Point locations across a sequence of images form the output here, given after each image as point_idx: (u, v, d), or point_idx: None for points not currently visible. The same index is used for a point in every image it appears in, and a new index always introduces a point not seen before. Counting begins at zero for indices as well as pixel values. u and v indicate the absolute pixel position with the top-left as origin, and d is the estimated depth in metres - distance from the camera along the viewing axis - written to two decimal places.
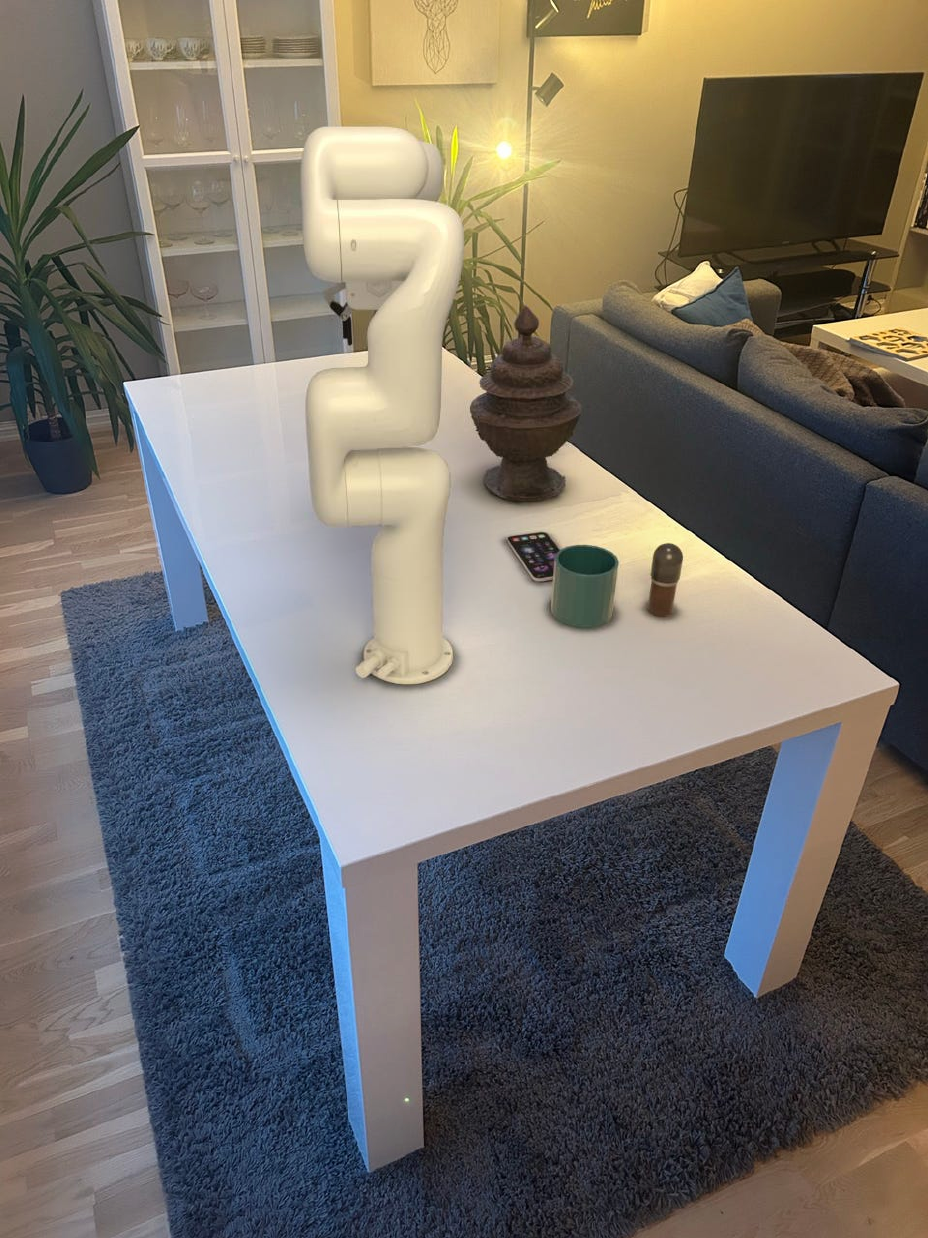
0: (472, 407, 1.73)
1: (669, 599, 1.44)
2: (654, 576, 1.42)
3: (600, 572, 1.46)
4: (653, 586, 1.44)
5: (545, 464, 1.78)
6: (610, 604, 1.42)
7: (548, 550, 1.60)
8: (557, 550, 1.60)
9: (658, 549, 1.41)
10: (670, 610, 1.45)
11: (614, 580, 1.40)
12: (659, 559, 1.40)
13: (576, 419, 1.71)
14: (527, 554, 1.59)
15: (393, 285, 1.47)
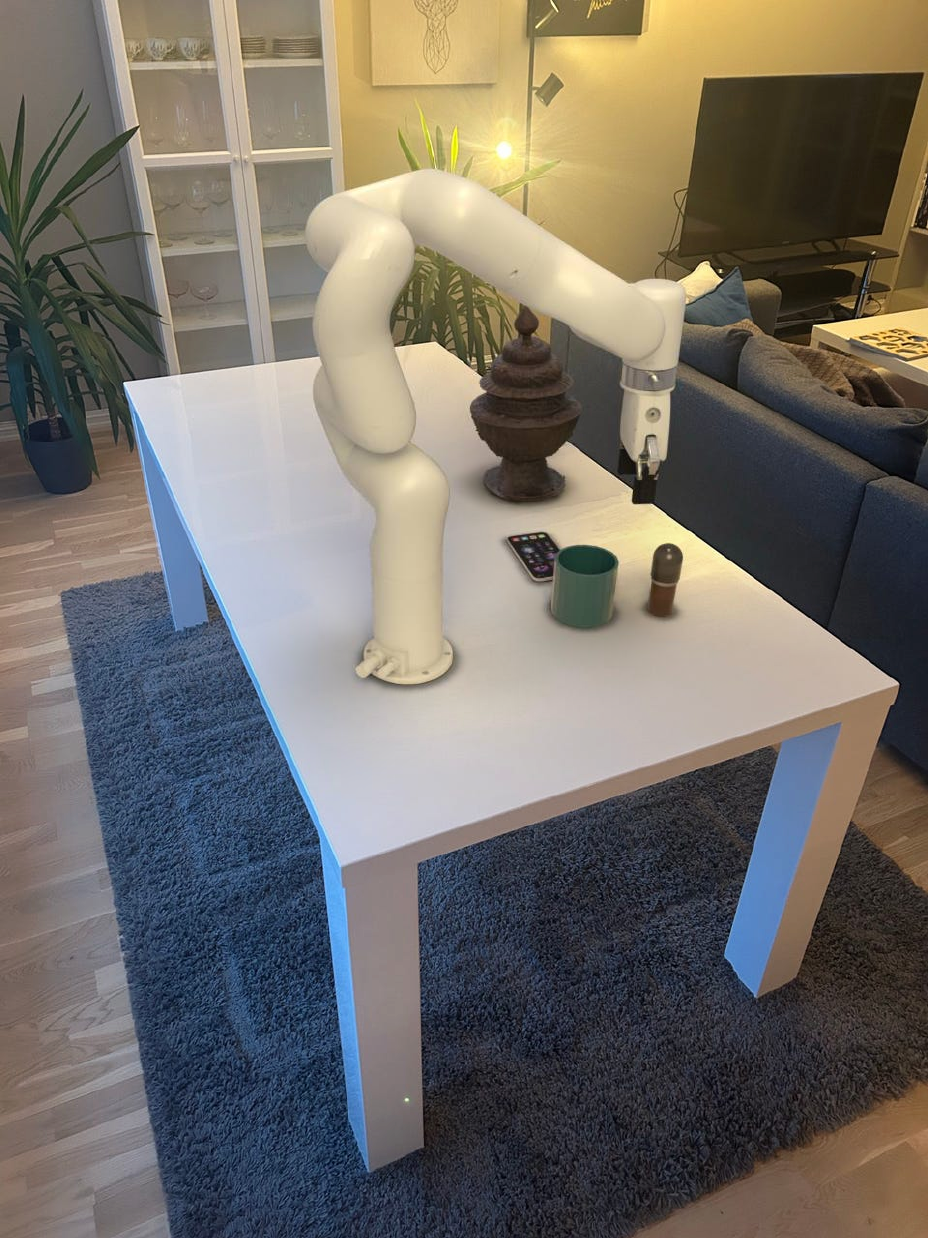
0: (472, 407, 1.73)
1: (669, 599, 1.44)
2: (654, 576, 1.42)
3: (600, 572, 1.46)
4: (653, 586, 1.44)
5: (545, 464, 1.78)
6: (610, 604, 1.42)
7: (548, 550, 1.60)
8: (557, 550, 1.60)
9: (658, 549, 1.41)
10: (670, 610, 1.45)
11: (614, 580, 1.40)
12: (659, 559, 1.40)
13: (576, 419, 1.71)
14: (527, 554, 1.59)
15: None
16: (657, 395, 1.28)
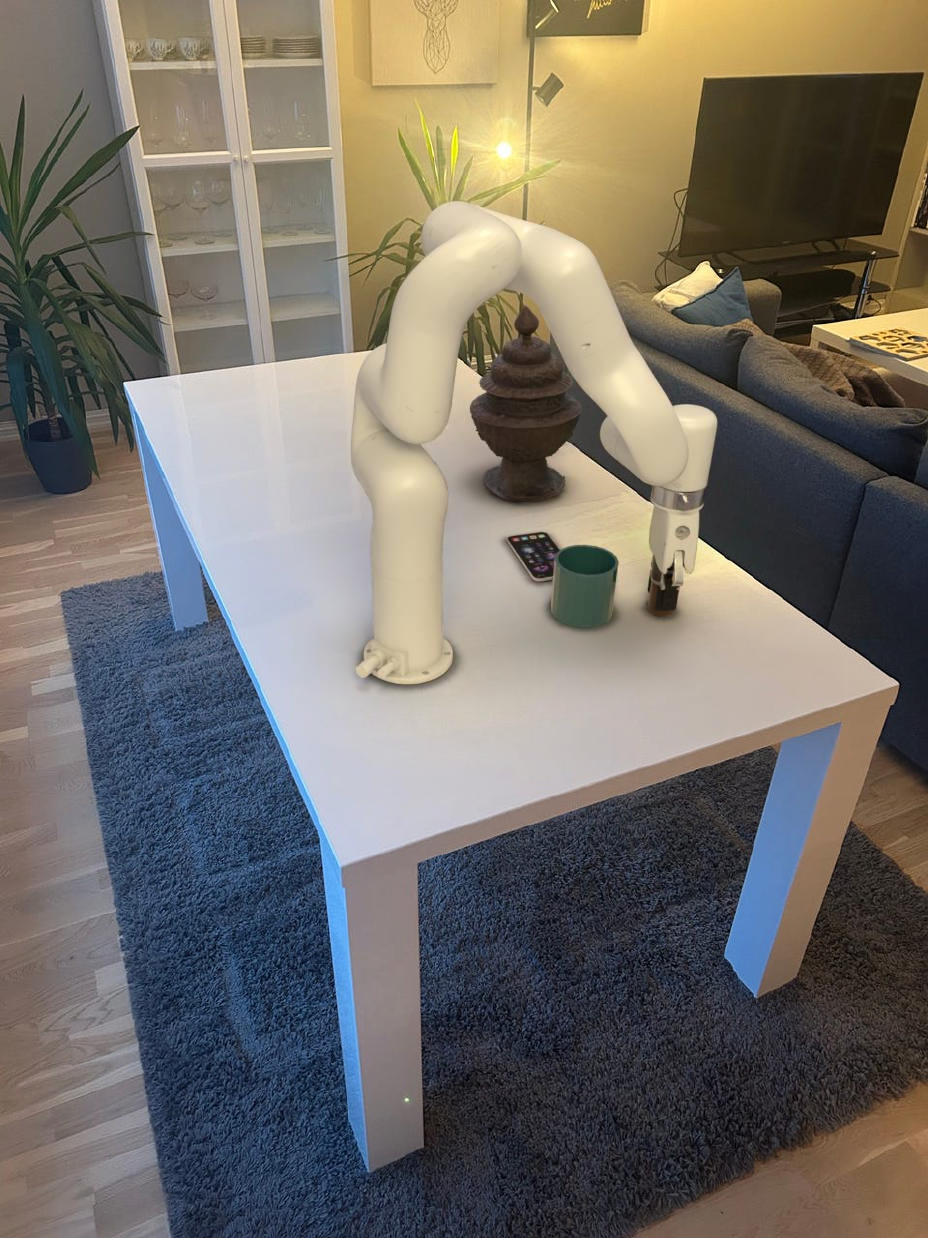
0: (472, 407, 1.73)
1: None
2: (654, 576, 1.42)
3: (600, 572, 1.46)
4: (653, 586, 1.44)
5: (545, 464, 1.78)
6: (610, 604, 1.42)
7: (548, 550, 1.60)
8: (557, 550, 1.60)
9: None
10: None
11: (614, 580, 1.40)
12: None
13: (576, 419, 1.71)
14: (527, 554, 1.59)
15: None
16: (687, 514, 1.33)
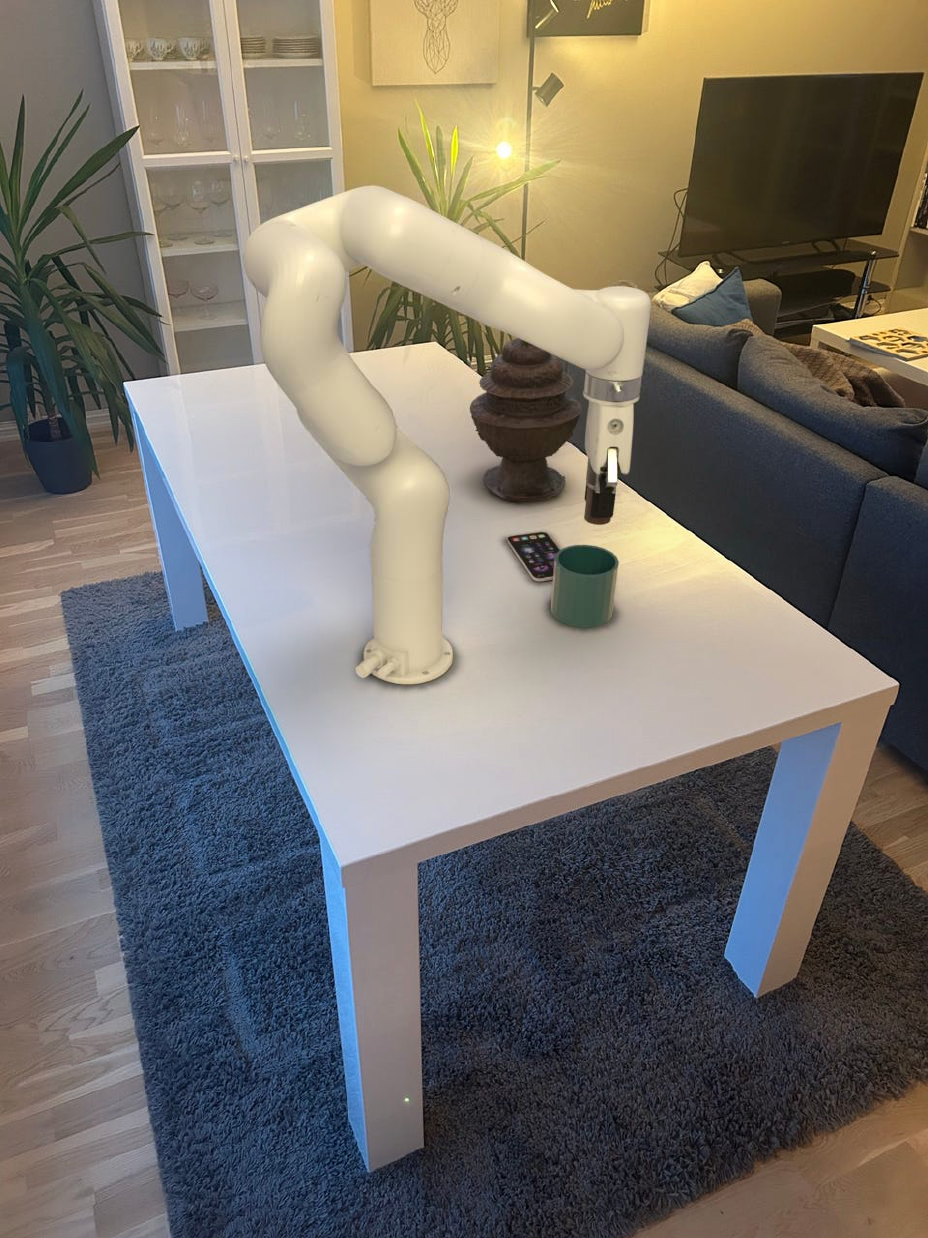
0: (472, 407, 1.73)
1: None
2: (589, 480, 1.33)
3: (600, 572, 1.46)
4: (588, 491, 1.34)
5: (545, 464, 1.78)
6: (610, 604, 1.42)
7: (548, 550, 1.60)
8: (557, 550, 1.60)
9: None
10: (608, 519, 1.36)
11: (614, 580, 1.40)
12: None
13: (576, 419, 1.71)
14: (527, 554, 1.59)
15: None
16: (620, 406, 1.24)
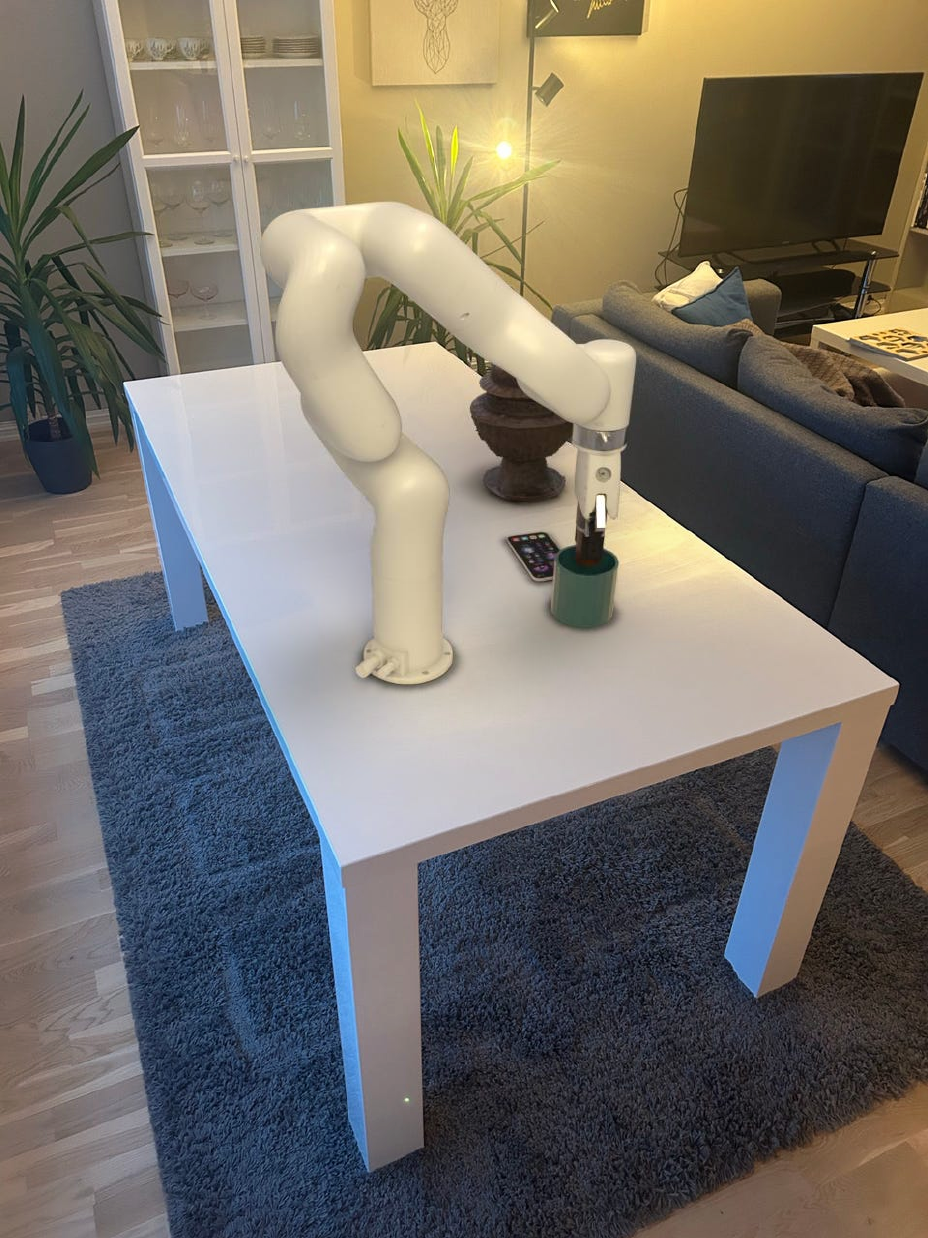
0: (472, 407, 1.73)
1: None
2: (579, 523, 1.37)
3: (600, 572, 1.46)
4: (578, 534, 1.38)
5: (545, 464, 1.78)
6: (610, 604, 1.42)
7: (548, 550, 1.60)
8: (557, 550, 1.60)
9: None
10: (597, 560, 1.40)
11: (614, 580, 1.40)
12: None
13: None
14: (527, 554, 1.59)
15: None
16: (607, 455, 1.28)
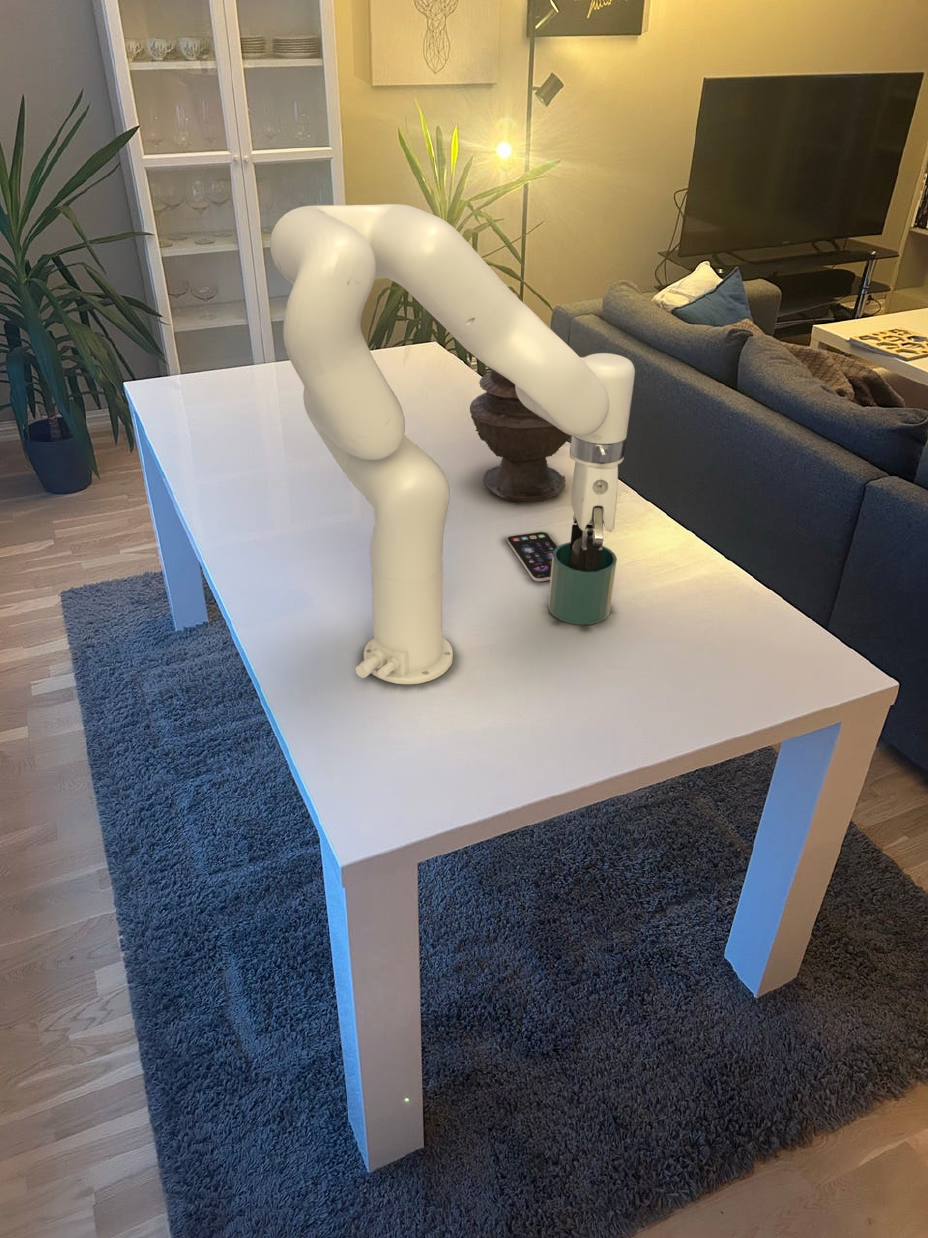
0: (472, 407, 1.73)
1: None
2: (572, 568, 1.41)
3: None
4: None
5: (545, 464, 1.78)
6: (608, 601, 1.42)
7: (548, 550, 1.60)
8: None
9: (577, 540, 1.40)
10: None
11: (612, 577, 1.40)
12: (577, 550, 1.39)
13: None
14: (527, 554, 1.59)
15: None
16: (604, 468, 1.29)
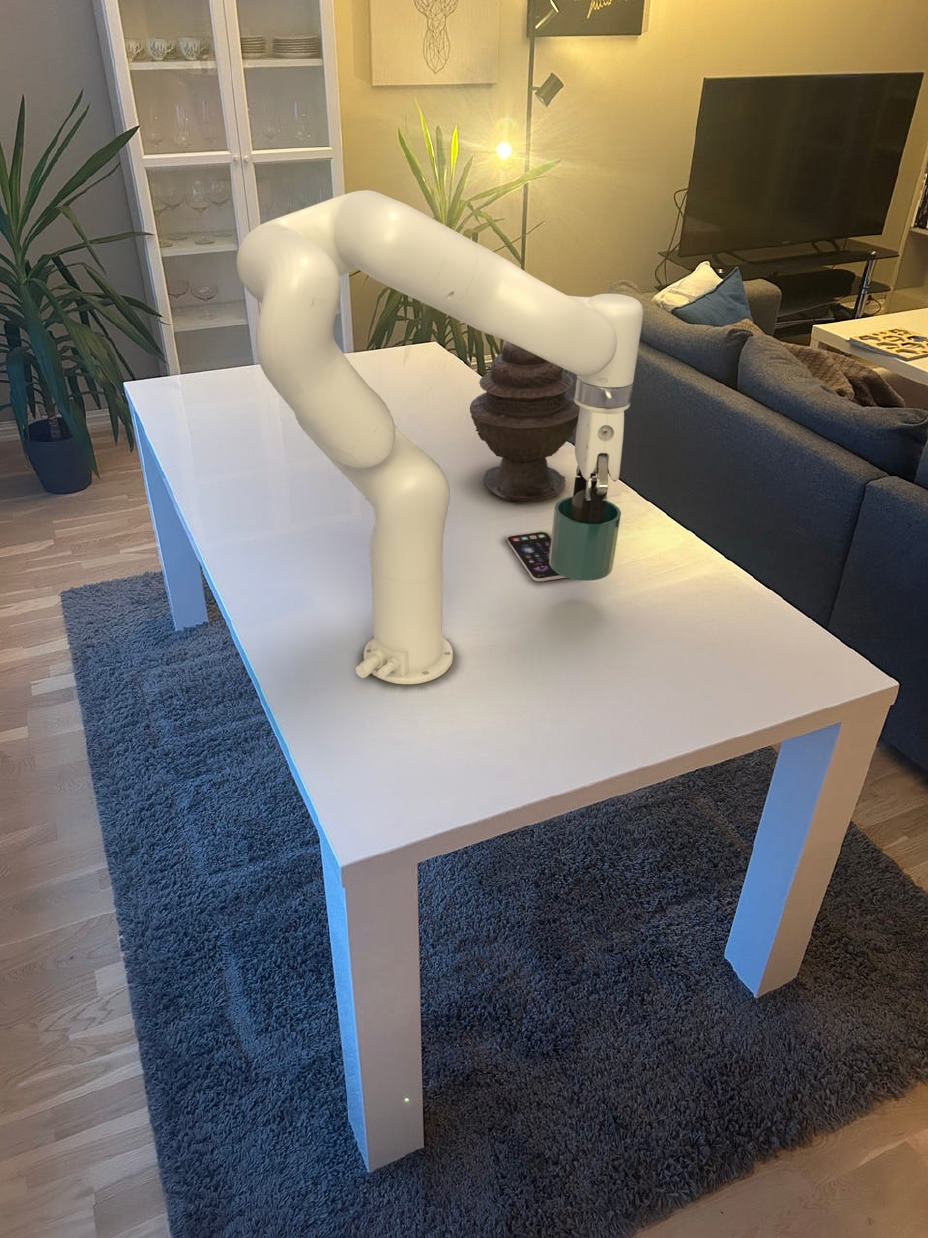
0: (472, 407, 1.73)
1: None
2: None
3: None
4: None
5: (545, 464, 1.78)
6: (611, 557, 1.37)
7: (548, 550, 1.60)
8: None
9: (577, 494, 1.35)
10: None
11: (616, 531, 1.36)
12: (577, 504, 1.35)
13: (576, 419, 1.71)
14: (527, 554, 1.59)
15: None
16: (610, 413, 1.24)
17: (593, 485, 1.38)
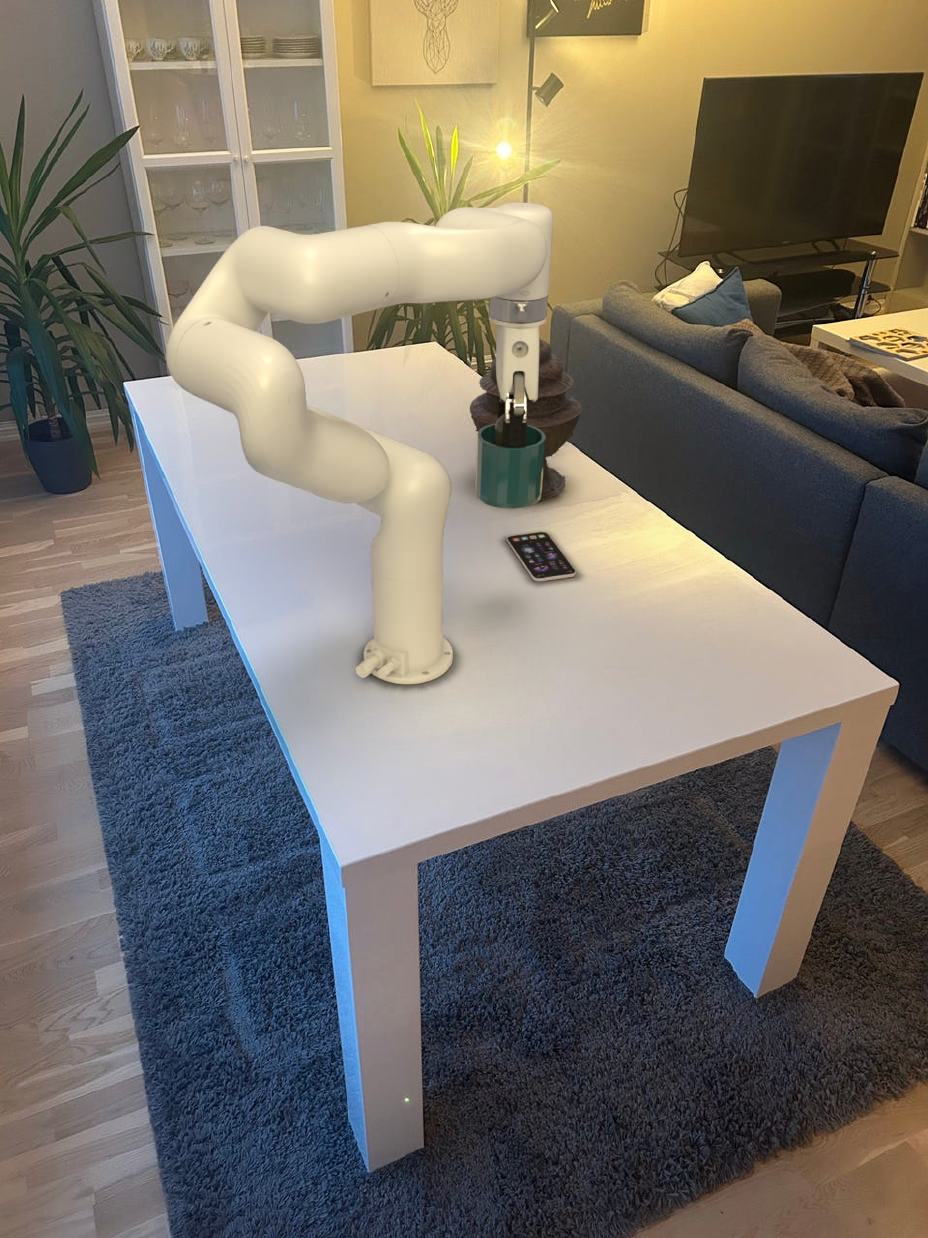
0: (472, 407, 1.73)
1: None
2: None
3: None
4: None
5: (545, 464, 1.78)
6: (537, 483, 1.33)
7: (548, 550, 1.60)
8: (557, 550, 1.60)
9: (499, 418, 1.31)
10: None
11: (540, 456, 1.31)
12: (499, 428, 1.30)
13: (576, 419, 1.71)
14: (527, 554, 1.59)
15: None
16: (524, 328, 1.20)
17: None
